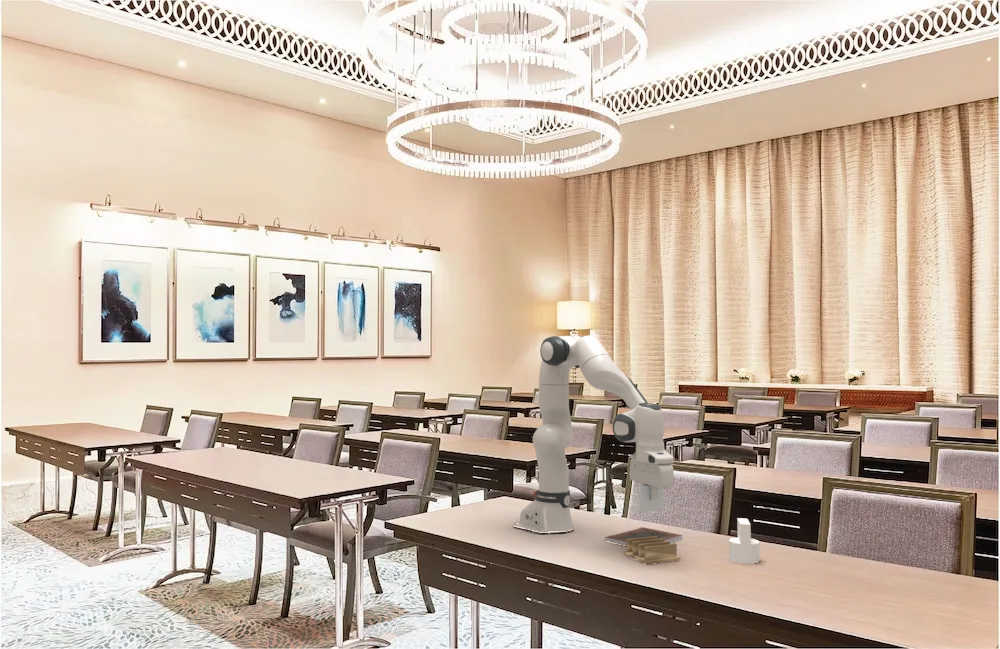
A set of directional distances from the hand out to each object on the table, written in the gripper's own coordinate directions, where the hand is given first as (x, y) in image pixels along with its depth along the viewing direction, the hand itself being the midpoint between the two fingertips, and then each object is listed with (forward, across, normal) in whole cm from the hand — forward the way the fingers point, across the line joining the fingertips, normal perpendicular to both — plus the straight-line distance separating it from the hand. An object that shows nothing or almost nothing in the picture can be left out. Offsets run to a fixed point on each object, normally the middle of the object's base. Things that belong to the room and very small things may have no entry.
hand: (650, 499), depth 238 cm
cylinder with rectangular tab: (+18, +13, +25) cm, 34 cm away
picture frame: (+19, -20, +9) cm, 29 cm away
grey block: (+4, 0, 0) cm, 4 cm away
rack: (+18, 0, 0) cm, 18 cm away
